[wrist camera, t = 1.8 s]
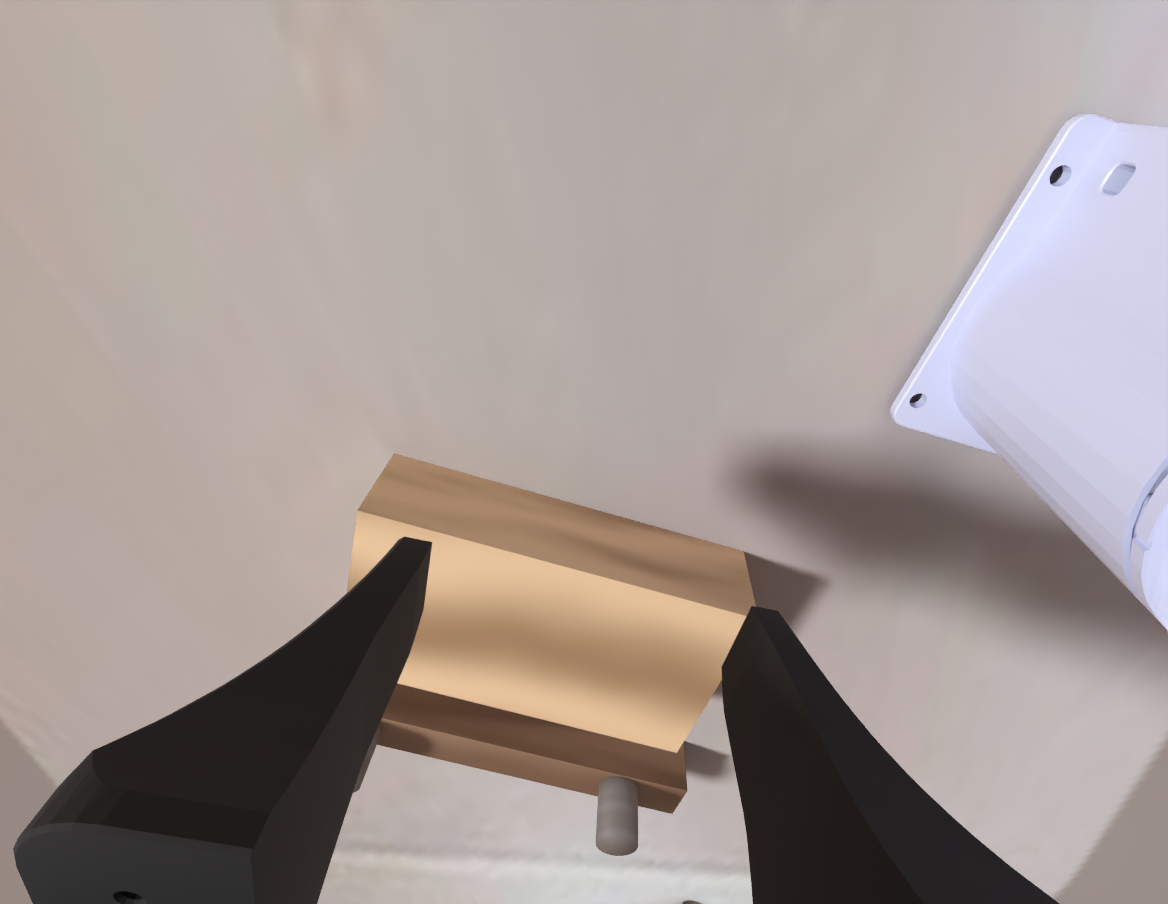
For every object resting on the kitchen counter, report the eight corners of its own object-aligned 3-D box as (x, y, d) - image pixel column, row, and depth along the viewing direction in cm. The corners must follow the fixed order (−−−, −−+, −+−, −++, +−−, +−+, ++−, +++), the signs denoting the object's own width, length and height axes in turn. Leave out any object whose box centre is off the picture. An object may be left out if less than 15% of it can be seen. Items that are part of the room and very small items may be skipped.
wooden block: (397, 448, 24) (357, 510, 21) (742, 545, 25) (759, 619, 22) (373, 595, 28) (337, 668, 25) (671, 673, 29) (676, 752, 26)
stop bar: (319, 652, 30) (266, 749, 25) (683, 741, 31) (691, 848, 27) (317, 679, 31) (265, 777, 26) (669, 764, 32) (674, 870, 28)
